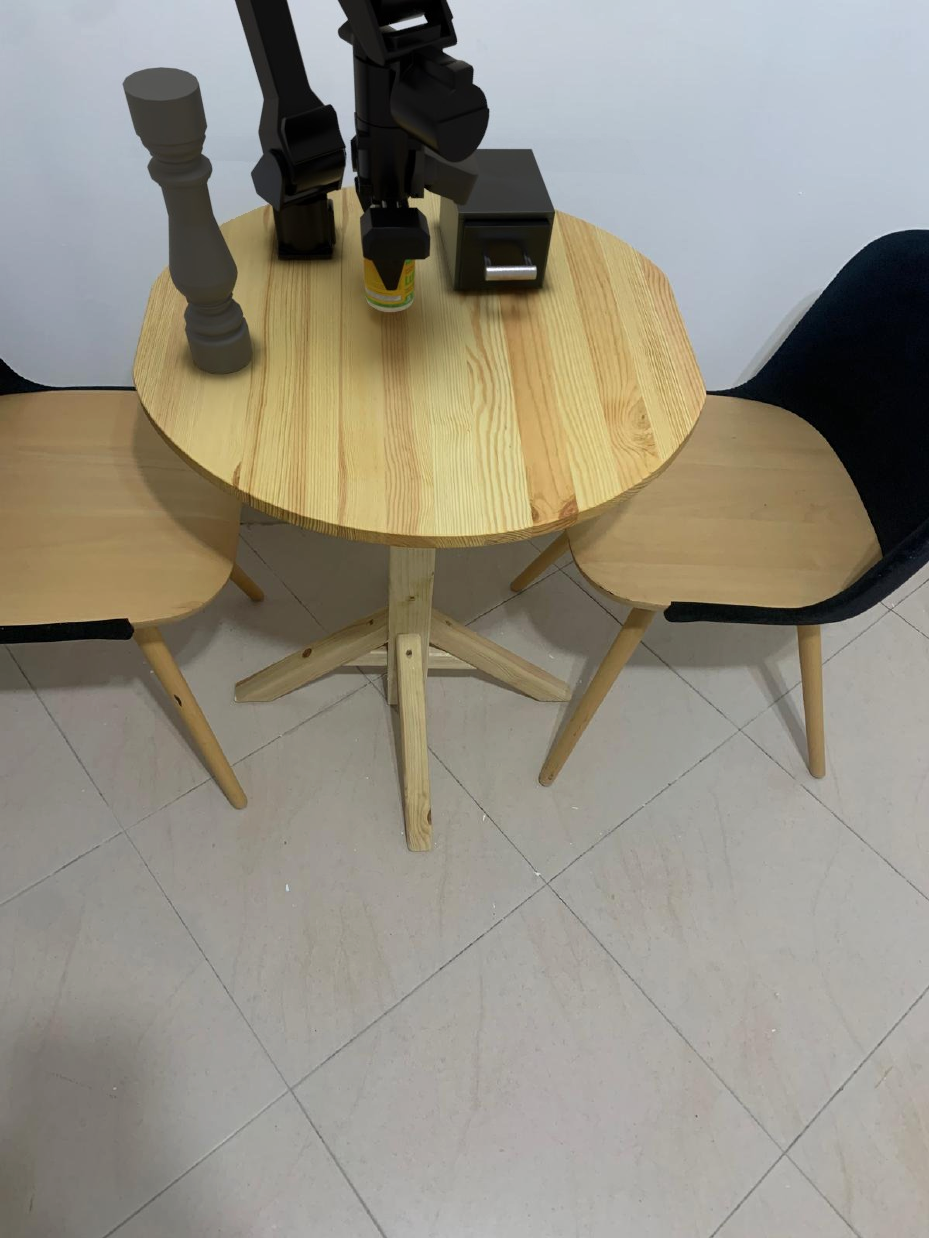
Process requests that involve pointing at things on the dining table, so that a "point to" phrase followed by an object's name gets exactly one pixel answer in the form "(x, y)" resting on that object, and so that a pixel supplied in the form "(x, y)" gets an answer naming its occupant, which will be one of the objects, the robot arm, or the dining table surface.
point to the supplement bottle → (383, 297)
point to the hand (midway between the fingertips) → (389, 273)
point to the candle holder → (190, 214)
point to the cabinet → (496, 200)
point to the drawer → (503, 253)
